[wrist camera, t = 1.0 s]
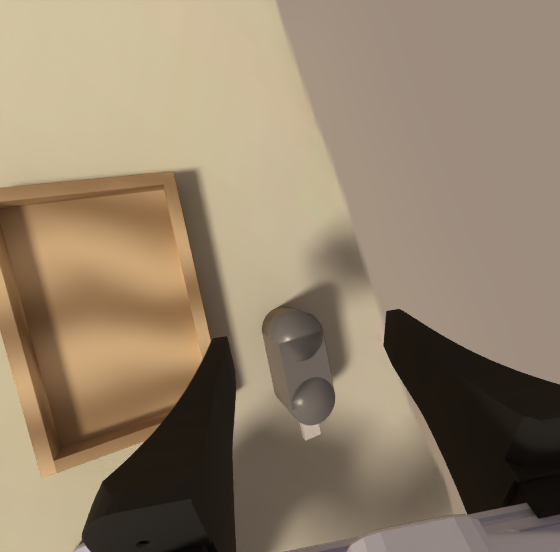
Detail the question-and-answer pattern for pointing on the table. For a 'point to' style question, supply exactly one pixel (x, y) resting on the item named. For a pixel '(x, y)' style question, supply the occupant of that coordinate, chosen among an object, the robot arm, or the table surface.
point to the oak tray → (97, 311)
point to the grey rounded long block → (299, 366)
